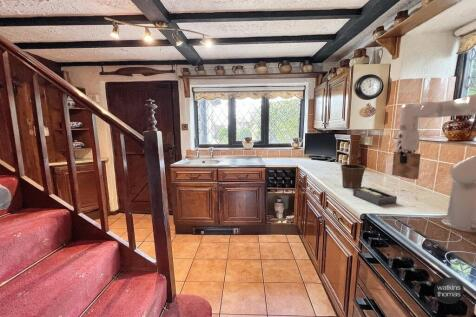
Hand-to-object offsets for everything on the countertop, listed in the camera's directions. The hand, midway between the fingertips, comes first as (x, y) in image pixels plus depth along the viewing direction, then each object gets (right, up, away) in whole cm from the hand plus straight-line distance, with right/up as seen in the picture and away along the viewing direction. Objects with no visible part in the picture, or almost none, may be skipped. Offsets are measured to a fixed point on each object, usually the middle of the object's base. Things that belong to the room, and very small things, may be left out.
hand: (405, 162), depth 118 cm
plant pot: (-5, -19, +47) cm, 51 cm away
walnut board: (0, -8, +1) cm, 8 cm away
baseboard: (+15, -24, +20) cm, 35 cm away
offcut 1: (-9, -22, +21) cm, 32 cm away
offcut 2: (-7, -23, +15) cm, 29 cm away
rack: (-6, -24, +19) cm, 31 cm away
